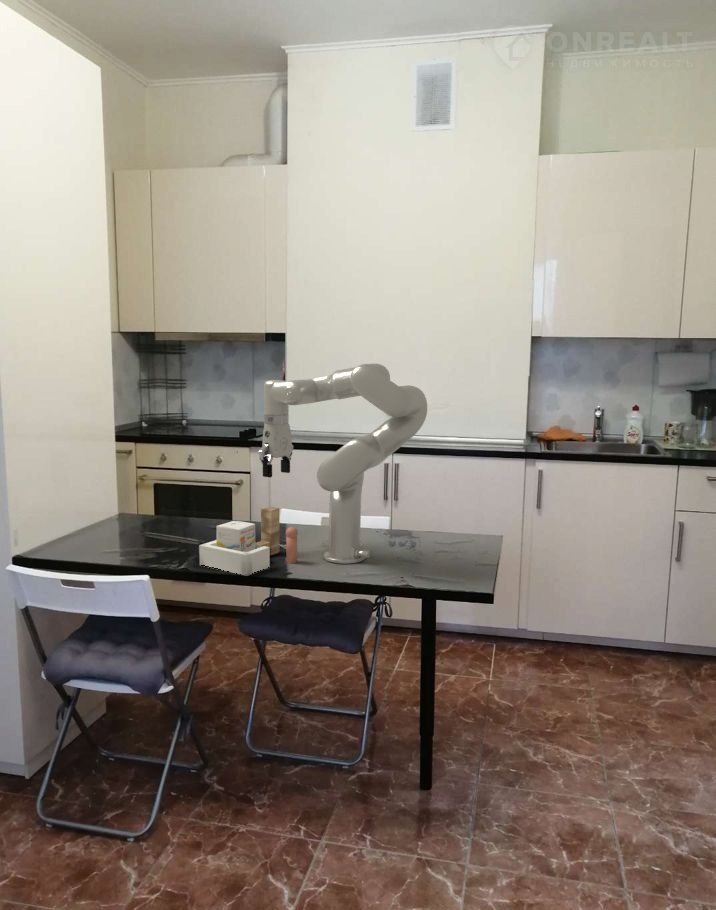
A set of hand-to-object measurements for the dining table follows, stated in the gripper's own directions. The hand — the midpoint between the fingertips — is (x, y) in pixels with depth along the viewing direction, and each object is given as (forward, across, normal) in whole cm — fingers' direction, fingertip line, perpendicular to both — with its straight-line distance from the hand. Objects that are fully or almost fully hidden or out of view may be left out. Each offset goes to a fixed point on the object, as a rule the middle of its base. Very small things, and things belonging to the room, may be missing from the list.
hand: (276, 474), depth 227 cm
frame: (+24, -22, 0) cm, 32 cm away
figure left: (+24, -9, -12) cm, 28 cm away
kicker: (+24, -9, -1) cm, 25 cm away
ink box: (+24, -19, +2) cm, 31 cm away
